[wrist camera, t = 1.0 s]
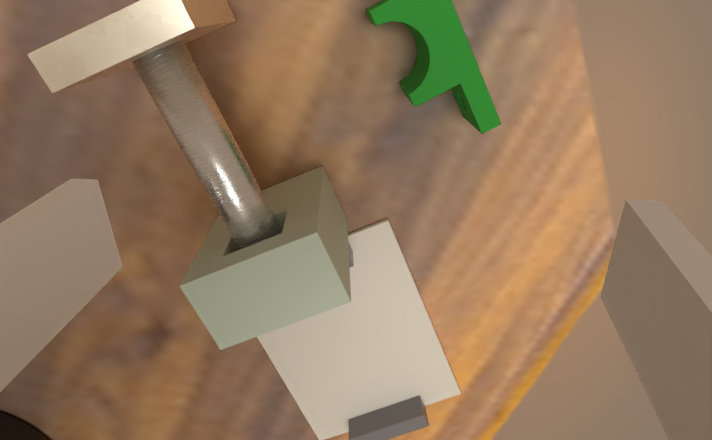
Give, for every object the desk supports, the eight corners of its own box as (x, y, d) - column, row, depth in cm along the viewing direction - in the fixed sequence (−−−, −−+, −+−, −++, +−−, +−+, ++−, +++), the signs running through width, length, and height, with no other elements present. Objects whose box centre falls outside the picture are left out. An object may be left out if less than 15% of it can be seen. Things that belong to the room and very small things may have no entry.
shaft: (258, 288, 31) (235, 375, 24) (116, 39, 25) (26, 54, 18) (346, 254, 31) (350, 333, 23) (221, -10, 25) (173, -15, 17)
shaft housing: (251, 256, 34) (220, 350, 25) (223, 205, 32) (179, 286, 23) (347, 219, 33) (350, 301, 24) (322, 165, 32) (317, 232, 22)
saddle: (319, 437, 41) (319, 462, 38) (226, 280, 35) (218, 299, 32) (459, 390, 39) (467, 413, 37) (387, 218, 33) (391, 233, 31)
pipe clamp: (339, -43, 27) (339, -52, 23) (401, -79, 27) (413, -96, 22) (424, 136, 31) (437, 156, 27) (480, 108, 31) (502, 124, 26)
